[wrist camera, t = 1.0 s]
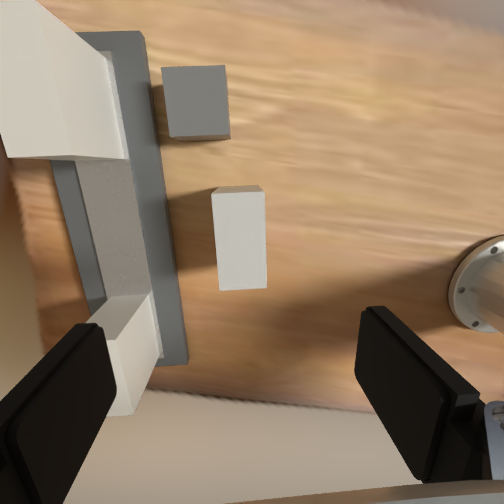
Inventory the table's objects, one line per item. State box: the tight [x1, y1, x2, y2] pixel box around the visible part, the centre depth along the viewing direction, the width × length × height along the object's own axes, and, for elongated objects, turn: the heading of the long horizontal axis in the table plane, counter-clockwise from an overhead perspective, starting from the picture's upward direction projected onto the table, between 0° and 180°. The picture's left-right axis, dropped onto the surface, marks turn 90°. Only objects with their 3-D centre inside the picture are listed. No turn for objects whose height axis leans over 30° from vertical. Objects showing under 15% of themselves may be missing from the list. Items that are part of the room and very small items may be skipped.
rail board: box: [50, 31, 189, 367], centre depth 27 cm, size 10×34×1 cm, turn 2°
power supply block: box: [161, 65, 231, 141], centre depth 23 cm, size 5×5×4 cm
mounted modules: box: [0, 0, 159, 417], centre depth 23 cm, size 4×30×8 cm, turn 2°
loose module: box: [211, 185, 267, 291], centre depth 25 cm, size 4×8×8 cm, turn 2°
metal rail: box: [75, 51, 165, 358], centre depth 27 cm, size 5×31×1 cm, turn 2°
